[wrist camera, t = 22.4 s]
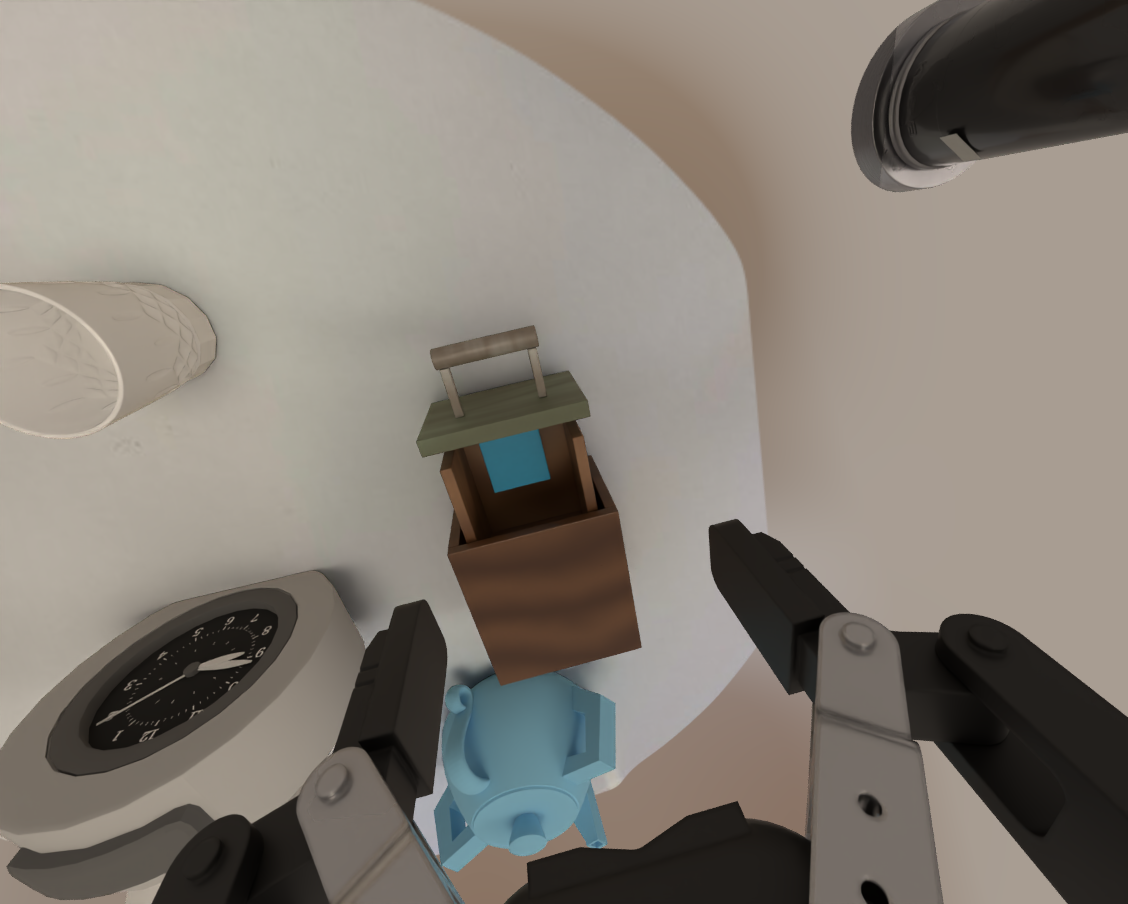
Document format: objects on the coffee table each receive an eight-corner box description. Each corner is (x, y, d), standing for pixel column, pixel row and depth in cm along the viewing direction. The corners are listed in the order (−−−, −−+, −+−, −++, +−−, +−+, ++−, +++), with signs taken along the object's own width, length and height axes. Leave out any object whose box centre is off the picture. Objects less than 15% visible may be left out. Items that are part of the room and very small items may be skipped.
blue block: (532, 407, 35) (537, 427, 31) (544, 454, 37) (551, 479, 33) (479, 420, 35) (477, 442, 31) (494, 467, 37) (494, 493, 33)
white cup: (84, 352, 31) (-85, 395, 22) (111, 248, 28) (-67, 247, 19) (209, 405, 33) (103, 462, 24) (242, 313, 31) (139, 339, 22)
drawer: (409, 342, 33) (387, 368, 26) (556, 308, 33) (573, 324, 26) (478, 536, 41) (475, 595, 34) (595, 506, 41) (616, 558, 34)
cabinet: (457, 488, 39) (446, 555, 31) (591, 454, 40) (618, 511, 31) (499, 604, 46) (500, 686, 37) (614, 574, 46) (641, 648, 38)
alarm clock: (358, 559, 41) (255, 796, 23) (386, 616, 44) (314, 862, 26) (125, 614, 40) (-173, 908, 22) (171, 668, 43) (-55, 962, 25)
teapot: (439, 761, 55) (425, 910, 43) (441, 652, 47) (424, 794, 35) (586, 749, 59) (612, 883, 46) (609, 646, 51) (648, 773, 39)
